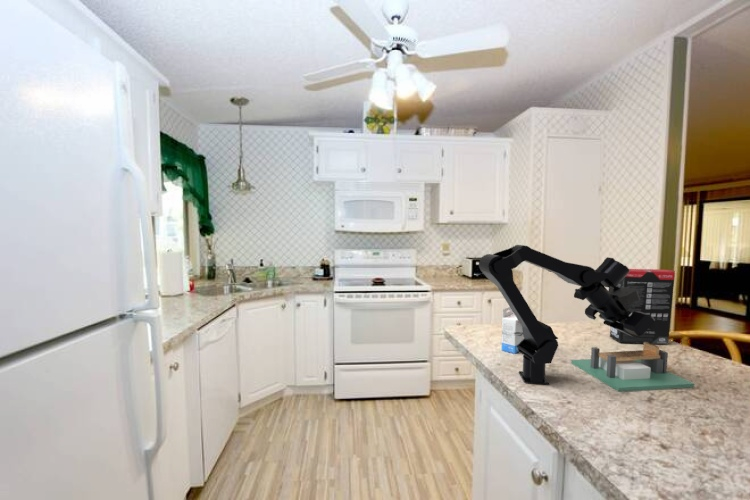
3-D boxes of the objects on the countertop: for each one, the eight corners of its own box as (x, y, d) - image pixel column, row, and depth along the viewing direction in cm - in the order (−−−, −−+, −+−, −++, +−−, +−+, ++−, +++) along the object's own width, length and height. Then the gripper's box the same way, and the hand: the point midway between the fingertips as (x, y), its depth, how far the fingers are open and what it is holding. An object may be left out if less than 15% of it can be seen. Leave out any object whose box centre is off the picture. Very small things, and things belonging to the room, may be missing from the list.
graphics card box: (657, 339, 126) (661, 268, 124) (671, 345, 119) (676, 270, 117) (609, 337, 128) (612, 267, 126) (620, 344, 121) (624, 270, 119)
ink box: (515, 354, 112) (516, 311, 110) (500, 350, 115) (502, 308, 114) (525, 347, 117) (526, 307, 116) (511, 344, 121) (512, 304, 120)
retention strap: (608, 361, 93) (609, 349, 93) (597, 355, 97) (598, 344, 97) (660, 358, 95) (661, 346, 95) (647, 353, 99) (648, 341, 99)
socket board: (618, 391, 86) (619, 365, 86) (571, 363, 104) (572, 341, 104) (694, 387, 89) (696, 361, 88) (635, 360, 106) (636, 338, 106)
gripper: (650, 284, 85) (686, 325, 87) (595, 273, 103) (625, 307, 105) (620, 315, 85) (657, 355, 86) (570, 299, 103) (601, 332, 105)
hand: (634, 335), depth 96 cm, fingers closed
